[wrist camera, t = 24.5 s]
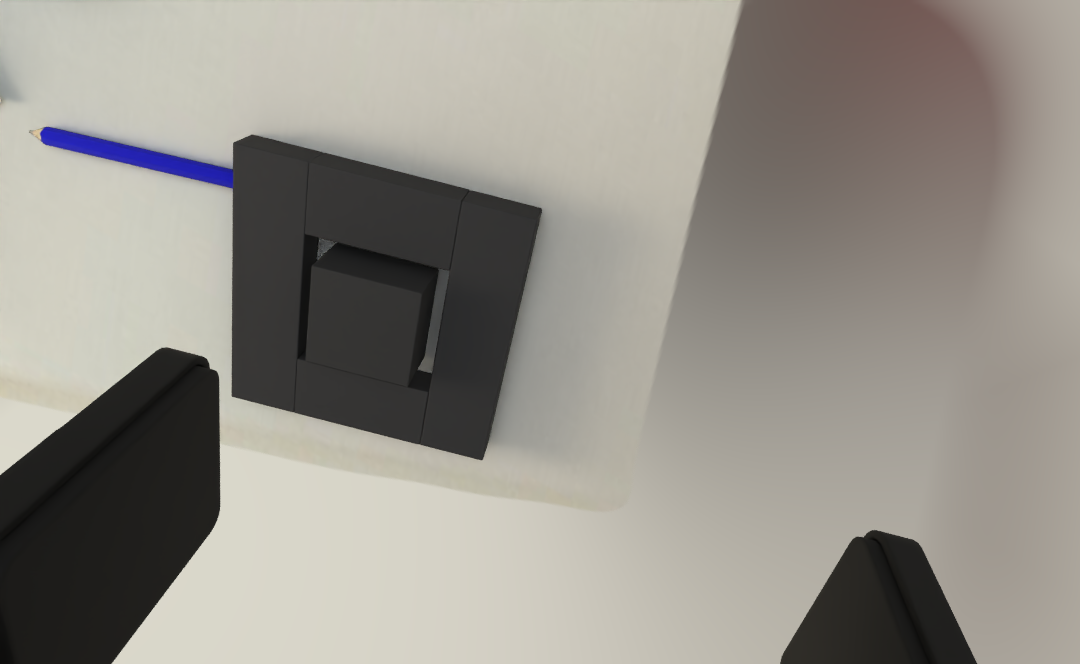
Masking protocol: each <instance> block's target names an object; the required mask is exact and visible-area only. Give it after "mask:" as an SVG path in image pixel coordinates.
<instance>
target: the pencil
mask: <svg viewBox="0 0 1080 664" xmlns="http://www.w3.org/2000/svg"><path fill="white" fill-rule="evenodd" d="M29 133H31V134H33V135H34V136H36V137H37V138H38V139H39V140H40V141H41V142H43V143H44V144H45V145H49V146H54V147H58V148H62V149H66V150H71V151H75V152H79V153H84V154H88V155H92V156H96V157H101V158H105V159H109V160H114V161H118V162H122V163H126V164H131V165H135V166H139V167H144V168H148V169H152V170H157V171H161V172H165V173H169V174H174V175H178V176H182V177H187V178H191V179H195V180H199V181H204V182H208V183H212V184H217V185H221V186H225V187H229V188H233V170H232V169H227V168H223V167H219V166H214V165H210V164H206V163H202V162H197V161H193V160H189V159H184V158H180V157H176V156H171V155H167V154H163V153H159V152H154V151H150V150H146V149H141V148H137V147H133V146H129V145H124V144H120V143H116V142H111V141H107V140H103V139H99V138H94V137H90V136H86V135H81V134H77V133H73V132H68V131H64V130H60V129H56V128H51V127H44V128H41V129H38V130H34V131H31V130H30V131H29Z"/></svg>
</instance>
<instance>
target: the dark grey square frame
mask: <svg viewBox="0 0 1080 664" xmlns="http://www.w3.org/2000/svg"><path fill="white" fill-rule="evenodd" d="M541 213H542V209H541V208H538V207H534V206H530V205H526V204H522V203H518V202H514V201H510V200H506V199H502V198H498V197H495V196H491V195H487V194H483V193H479V192H475V191H469V190H468V189H464V188H460V187H456V186H452V185H448V184H445V183H441V182H437V181H433V180H429V179H425V178H421V177H417V176H413V175H409V174H405V173H401V172H397V171H393V170H390V169H386V168H382V167H378V166H374V165H370V164H366V163H362V162H358V161H354V160H350V159H346V158H342V157H338V156H335V155H331V154H327V153H322V152H318V151H314V150H311V149H307V148H303V147H299V146H295V145H291V144H287V143H283V142H279V141H275V140H271V139H267V138H263V137H259V136H256V135H250V136H248V137H245V138H243V139H241V140H239V141H236V142H234V143H233V268H232V397H236V398H240V399H243V400H247V401H251V402H255V403H259V404H263V405H267V406H271V407H275V408H279V409H282V410H286V411H290V412H295V413H298V414H302V415H306V416H310V417H314V418H317V419H321V420H325V421H329V422H333V423H337V424H341V425H345V426H349V427H353V428H356V429H360V430H364V431H368V432H372V433H376V434H380V435H384V436H388V437H392V438H396V439H399V440H403V441H407V442H411V443H415V444H421V445H424V446H428V447H432V448H435V449H439V450H443V451H447V452H451V453H455V454H459V455H463V456H467V457H471V458H474V459H478V460H483V457H484V454H485V451H486V448H487V445H488V441H489V437H490V433H491V428H492V424H493V420H494V415H495V411H496V407H497V402H498V398H499V394H500V390H501V385H502V381H503V377H504V372H505V368H506V364H507V359H508V355H509V351H510V346H511V342H512V338H513V334H514V329H515V325H516V321H517V316H518V312H519V308H520V303H521V299H522V295H523V290H524V286H525V282H526V277H527V273H528V269H529V265H530V260H531V256H532V252H533V247H534V243H535V239H536V234H537V230H538V226H539V221H540V217H541ZM318 237H319V238H323V239H327V240H331V241H334V242H338V243H342V244H346V245H350V246H354V247H358V248H362V249H366V250H370V251H374V252H378V253H381V254H385V255H389V256H393V257H397V258H401V259H405V260H409V261H413V262H417V263H421V264H425V265H429V266H432V267H436V268H440V269H444V270H448V271H449V270H450V273H449V279H448V284H447V290H446V296H445V302H444V308H443V313H442V319H441V325H440V331H439V337H438V342H437V348H436V354H435V360H434V366H433V371H432V374H429V373H426V372H422V371H418V370H417V371H416V373H415V375H414V377H413V378H412V380H411V382H410V384H409V386H408V387H406V386H403V385H399V384H395V383H391V382H387V381H383V380H379V379H375V378H371V377H367V376H363V375H360V374H356V373H352V372H348V371H344V370H340V369H336V368H332V367H328V366H324V365H321V364H317V363H313V362H309V361H306V345H307V330H308V315H309V300H310V285H311V270H312V265H313V264H314V263H315V262H316V258H317V244H318Z"/></svg>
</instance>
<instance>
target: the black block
mask: <svg viewBox="0 0 1080 664" xmlns="http://www.w3.org/2000/svg"><path fill="white" fill-rule="evenodd" d="M438 271H439V270H438V268H434V267H430V266H426V265H422V264H418V263H414V262H410V261H406V260H402V259H398V258H394V257H391V256H387V255H383V254H379V253H375V252H371V251H367V250H363V249H359V248H355V247H351V246H348V245H344V244H340V243H336V244H335V245H334V246H333V247H332V248H331V249H329V250H328V251H327V252H326V253H325V254H324V255H323V256H322V257H321V258H320V259H319V260H318V261H316V262H315V263H314V264H313V265H312V270H311V285H310V300H309V315H308V330H307V345H306V361H309V362H313V363H317V364H321V365H324V366H328V367H332V368H336V369H340V370H344V371H348V372H352V373H356V374H360V375H363V376H367V377H371V378H375V379H379V380H383V381H387V382H391V383H395V384H399V385H403V386H406V387H408V386H409V384H410V382H411V380H412V378H413V377H414V375H415V373H416V371H417V369H418V367H419V366H420V364H421V362H422V360H423V358H424V356H425V350H426V344H427V338H428V332H429V326H430V319H431V313H432V307H433V301H434V295H435V289H436V283H437V277H438Z"/></svg>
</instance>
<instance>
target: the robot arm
mask: <svg viewBox="0 0 1080 664" xmlns="http://www.w3.org/2000/svg"><path fill="white" fill-rule="evenodd" d="M219 511H220V424H219V375H218V373H217V371H215V370H212V369H210V367H209V362H208V360H207V359H206V358H204V357H202V356H198V355H195V354H191V353H187V352H183V351H179V350H175V349H171V348H167V347H166V348H161V349H159V350H157V351H156V352H155V353H153V354H152V355H151V356H150V357H148V358H147V359H146V360H145V361H143V362H142V363H141V364H140V365H138V366H137V367H136V368H135V369H133V370H132V371H131V372H130V373H128V374H127V375H126V376H125V377H123V378H122V379H121V380H120V381H118V382H117V383H116V384H115V385H113V386H112V387H111V388H110V389H108V390H107V391H106V392H105V393H103V394H102V395H101V396H100V397H98V398H97V399H96V400H95V401H93V402H92V403H91V404H90V405H89V406H87V407H86V408H85V409H84V410H82V411H81V412H80V413H79V414H77V415H76V416H75V417H74V418H72V419H71V420H70V421H69V422H67V423H66V424H65V425H64V426H62V427H61V428H60V429H58V430H56V431H55V432H54V433H52V434H51V435H50V436H49V437H47V438H46V439H45V440H44V441H42V442H41V443H40V444H39V445H37V446H36V447H35V448H34V449H32V450H31V451H30V452H29V453H27V454H26V455H25V456H24V457H22V458H21V459H20V460H19V461H17V462H16V463H15V464H14V465H12V466H11V467H10V468H9V469H7V470H6V471H5V472H4V473H2V474H1V475H0V664H111V663H112V662H113V661H114V660H115V658H116V657H117V655H118V654H119V653H120V652H121V650H122V649H123V648H124V646H125V645H126V644H127V642H128V641H129V640H130V638H131V637H132V635H133V634H134V633H135V632H136V630H137V629H138V628H139V627H140V625H141V624H142V622H143V621H144V620H145V618H146V617H147V616H148V615H149V613H150V612H151V611H152V609H153V608H154V607H155V605H156V604H157V603H158V601H159V600H160V599H161V597H162V596H163V595H164V593H165V592H166V591H167V589H168V588H169V587H170V585H171V584H172V583H173V582H174V580H175V579H176V578H177V576H178V575H179V573H180V572H181V571H182V569H183V568H184V567H185V565H186V564H187V563H188V562H189V560H190V559H191V558H192V556H193V555H194V554H195V552H196V551H197V550H198V548H199V547H200V546H201V544H202V543H203V542H204V540H205V539H206V538H207V536H208V535H209V534H210V532H211V531H212V529H213V528H214V526H215V523H216V521H217V518H218V515H219ZM780 664H977V663H976V661H975V658H974V656H973V654H972V652H971V650H970V648H969V646H968V644H967V642H966V640H965V638H964V635H963V633H962V631H961V629H960V627H959V625H958V623H957V621H956V619H955V617H954V614H953V612H952V610H951V608H950V606H949V604H948V602H947V600H946V598H945V596H944V594H943V591H942V589H941V587H940V585H939V583H938V581H937V579H936V577H935V575H934V573H933V570H932V568H931V566H930V564H929V562H928V560H927V558H926V556H925V554H924V552H923V550H922V548H921V546H920V545H919V543H917V542H916V541H914V540H912V539H908V538H904V537H900V536H896V535H892V534H889V533H885V532H881V531H877V530H872V531H870V532H868V533H867V534H866V535H865V536H864V538H863V537H856V538H854V539H853V540H852V541H851V543H850V544H849V545H848V547H847V549H846V550H845V552H844V554H843V556H842V557H841V559H840V561H839V562H838V564H837V565H836V567H835V569H834V570H833V572H832V574H831V575H830V577H829V579H828V580H827V582H826V584H825V585H824V587H823V589H822V590H821V592H820V593H819V595H818V597H817V598H816V600H815V602H814V604H813V605H812V607H811V608H810V610H809V612H808V613H807V615H806V617H805V618H804V620H803V622H802V623H801V625H800V627H799V628H798V630H797V632H796V633H795V635H794V636H793V638H792V640H791V642H790V643H789V645H788V646H787V648H786V650H785V651H784V653H783V656H782V659H781V662H780Z"/></svg>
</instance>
